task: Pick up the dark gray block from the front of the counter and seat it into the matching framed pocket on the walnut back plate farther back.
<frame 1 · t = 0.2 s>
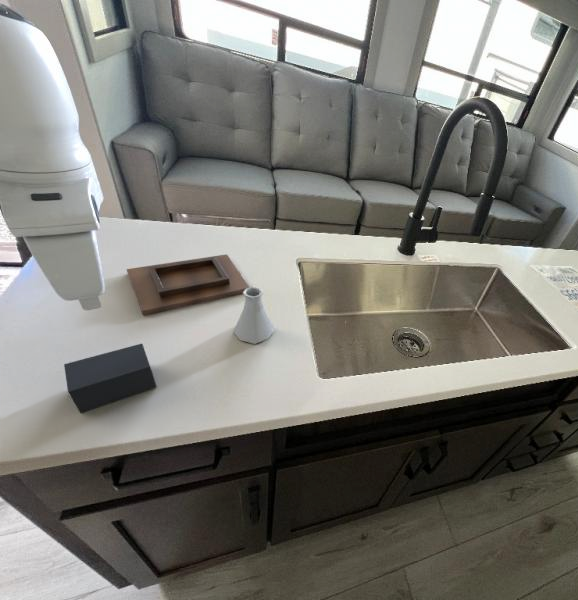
hand: (87, 285, 44), 16 cm above the worktop, tool pointing down, fingers open, 8 cm apart
back plate: (191, 282, 73), on the worktop
flask: (254, 331, 66), on the worktop
dark gray block: (117, 386, 51), on the worktop
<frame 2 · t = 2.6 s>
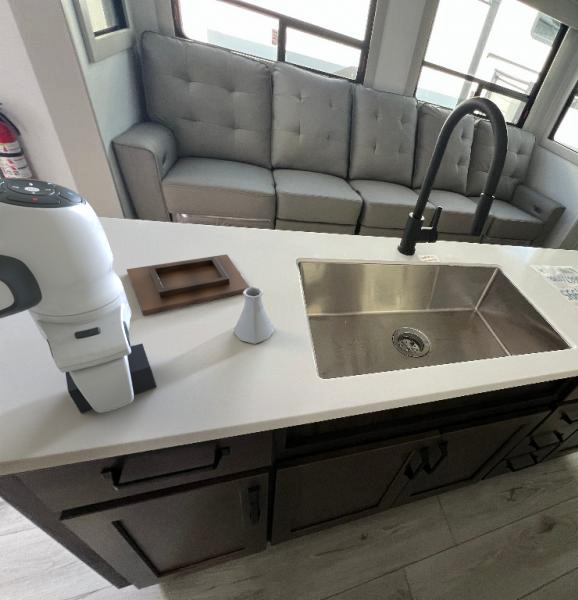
hand: (114, 379, 50), 2 cm above the worktop, tool pointing down, fingers closed on dark gray block, 5 cm apart
dark gray block: (117, 386, 51), on the worktop, touching gripper
everything else where it was.
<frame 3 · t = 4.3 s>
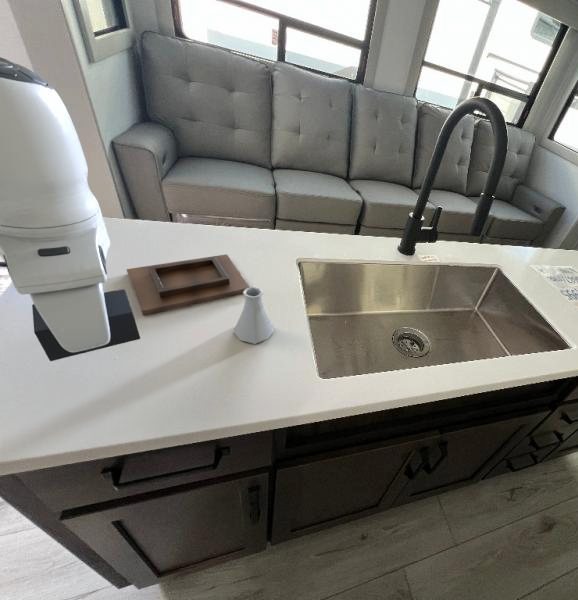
hand: (91, 327, 43), 12 cm above the worktop, tool pointing down, fingers closed on dark gray block, 5 cm apart
dark gray block: (95, 336, 44), point 11 cm above the worktop, touching gripper
everything else where it was.
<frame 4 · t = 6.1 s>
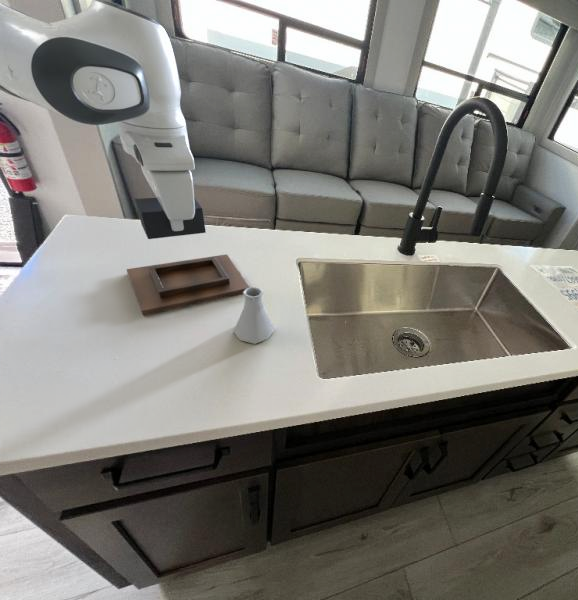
hand: (172, 220, 60), 17 cm above the worktop, tool pointing down, fingers closed on dark gray block, 5 cm apart
dark gray block: (174, 228, 61), point 15 cm above the worktop, touching gripper
everything else where it was.
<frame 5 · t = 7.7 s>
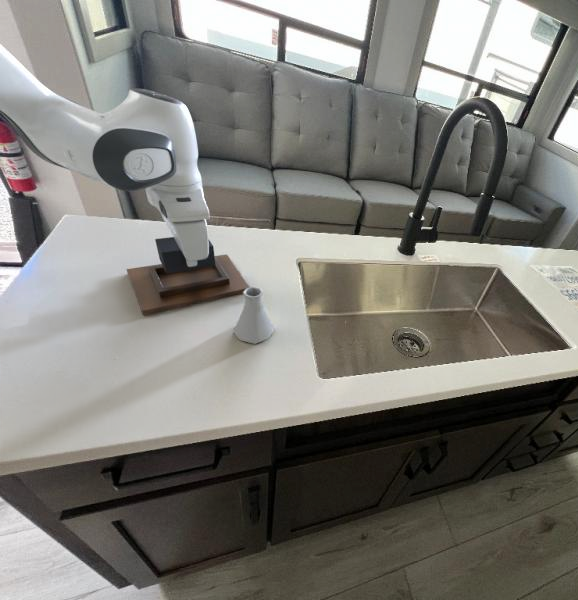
hand: (186, 256, 69), 7 cm above the worktop, tool pointing down, fingers closed on dark gray block, 5 cm apart
dark gray block: (188, 263, 70), point 5 cm above the worktop, touching gripper
everything else where it was.
when the fingers open (3 cm above the worktop, at t = 9.4 s): dark gray block stays where it is, resting on back plate.
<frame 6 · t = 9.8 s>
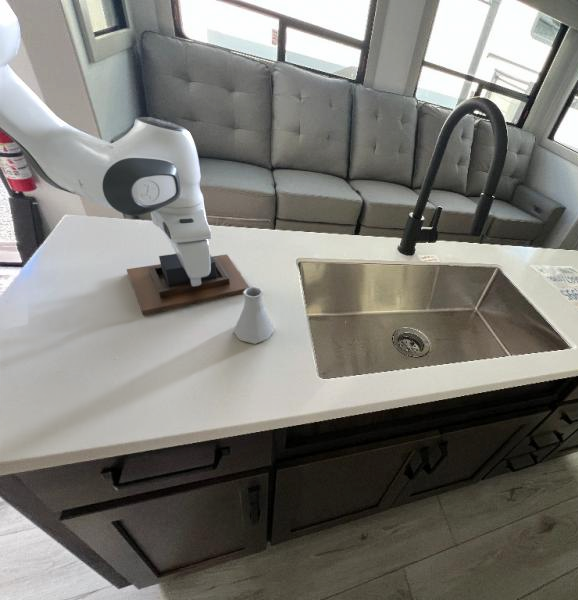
hand: (189, 272, 71), 3 cm above the worktop, tool pointing down, fingers open, 8 cm apart
dark gray block: (190, 278, 72), point 1 cm above the worktop, touching back plate
everything else where it was.
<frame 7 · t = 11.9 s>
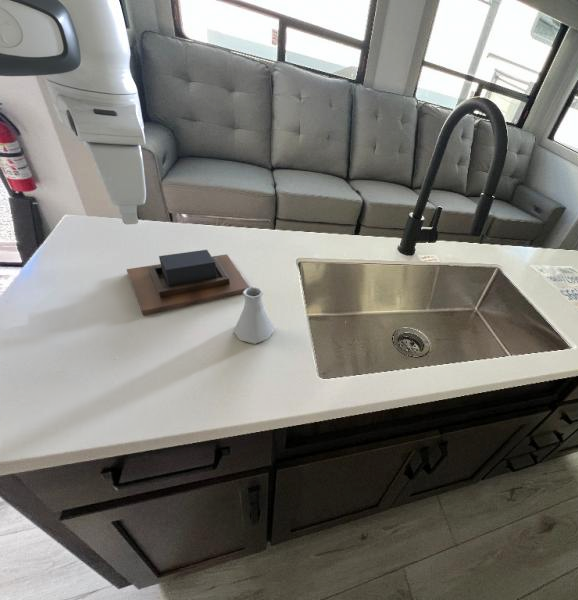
hand: (124, 208, 51), 21 cm above the worktop, tool pointing down, fingers open, 8 cm apart
nothing on the worktop moved.
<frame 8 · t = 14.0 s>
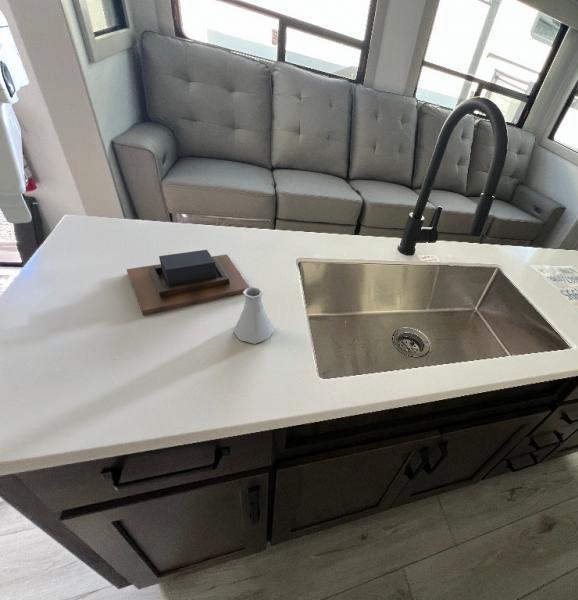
hand: (19, 201, 37), 27 cm above the worktop, tool pointing down, fingers open, 8 cm apart
nothing on the worktop moved.
at the end: dark gray block 0.1 cm off-centre on the back plate, point 1.2 cm above the back plate's base; dark gray block tilted 0°; the gripper is holding nothing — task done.
